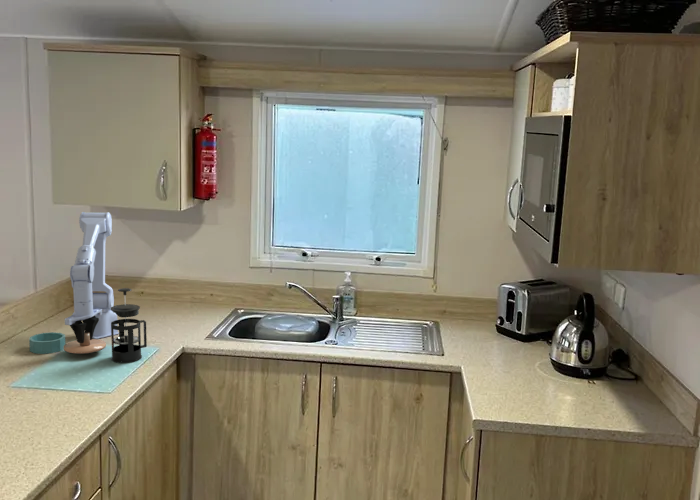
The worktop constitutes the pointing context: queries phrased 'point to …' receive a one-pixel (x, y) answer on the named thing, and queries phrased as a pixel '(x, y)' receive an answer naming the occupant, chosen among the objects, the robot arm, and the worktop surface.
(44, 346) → the bowl
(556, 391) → the worktop surface
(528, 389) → the worktop surface
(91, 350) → the lid
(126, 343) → the french press
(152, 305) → the worktop surface
